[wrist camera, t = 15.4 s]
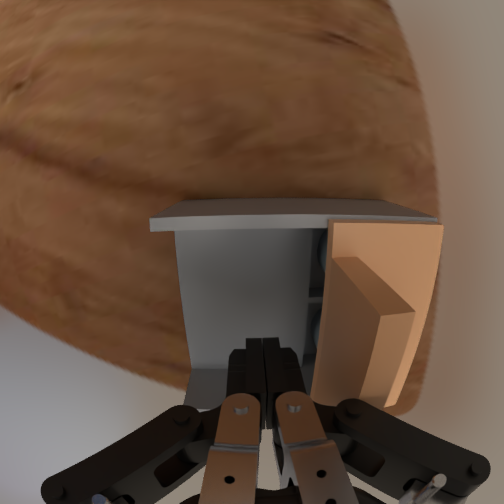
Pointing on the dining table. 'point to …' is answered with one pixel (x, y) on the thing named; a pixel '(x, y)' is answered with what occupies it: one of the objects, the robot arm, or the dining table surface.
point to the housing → (254, 276)
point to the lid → (373, 307)
